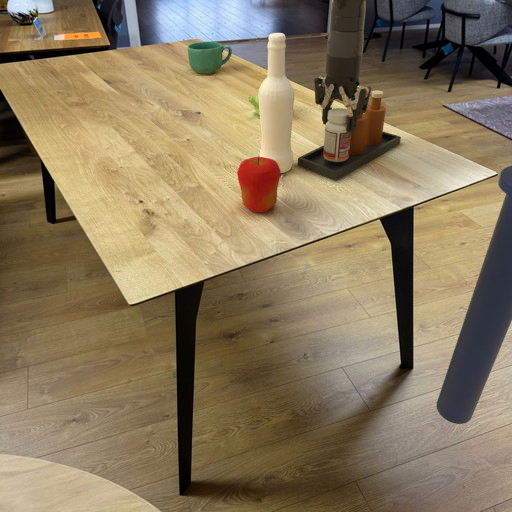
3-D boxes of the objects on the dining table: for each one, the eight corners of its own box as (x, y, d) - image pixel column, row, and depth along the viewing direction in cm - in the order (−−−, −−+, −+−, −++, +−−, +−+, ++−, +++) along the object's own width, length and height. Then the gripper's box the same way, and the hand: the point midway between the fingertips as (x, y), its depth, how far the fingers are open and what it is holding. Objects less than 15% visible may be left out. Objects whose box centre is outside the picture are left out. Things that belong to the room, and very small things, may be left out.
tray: (362, 132, 132) (363, 125, 130) (399, 144, 125) (401, 136, 124) (297, 165, 116) (297, 157, 115) (335, 180, 109) (336, 172, 108)
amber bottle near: (367, 150, 121) (374, 99, 113) (355, 157, 118) (361, 105, 110) (350, 145, 124) (355, 95, 116) (338, 151, 121) (343, 100, 113)
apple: (282, 198, 103) (282, 147, 96) (277, 218, 97) (277, 165, 90) (243, 195, 105) (241, 145, 98) (235, 215, 98) (232, 163, 91)
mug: (191, 77, 176) (189, 50, 171) (188, 68, 186) (185, 42, 181) (235, 74, 179) (234, 47, 173) (230, 65, 189) (228, 39, 183)
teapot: (255, 107, 150) (254, 79, 145) (291, 108, 148) (292, 81, 143) (247, 120, 141) (246, 91, 136) (286, 122, 139) (286, 92, 134)
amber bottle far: (384, 141, 125) (392, 91, 117) (373, 147, 122) (380, 97, 115) (368, 136, 128) (374, 87, 120) (356, 141, 125) (362, 92, 118)
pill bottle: (349, 152, 118) (353, 107, 111) (348, 163, 113) (352, 117, 106) (324, 151, 119) (327, 106, 112) (322, 162, 114) (325, 115, 107)
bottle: (256, 162, 118) (253, 30, 100) (287, 158, 119) (290, 28, 101) (263, 176, 112) (261, 39, 94) (296, 173, 113) (301, 36, 95)
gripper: (383, 53, 99) (373, 130, 109) (328, 43, 108) (323, 115, 118) (362, 60, 95) (354, 140, 105) (307, 49, 103) (304, 124, 113)
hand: (338, 127), depth 111 cm, fingers closed on pill bottle, 6 cm apart
